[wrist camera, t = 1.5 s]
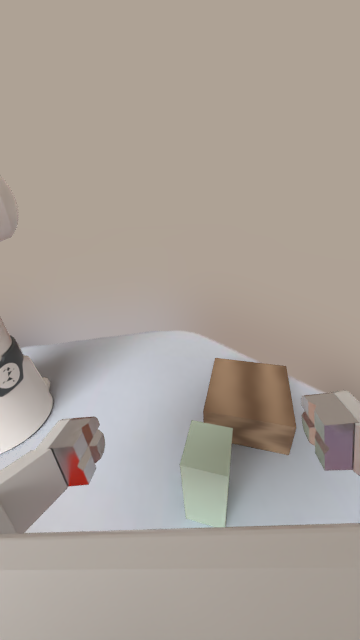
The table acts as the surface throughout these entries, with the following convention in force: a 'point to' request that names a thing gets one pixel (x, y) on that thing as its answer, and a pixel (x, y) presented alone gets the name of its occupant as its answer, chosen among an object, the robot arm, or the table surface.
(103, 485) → the table surface
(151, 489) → the table surface
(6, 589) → the robot arm
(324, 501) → the table surface
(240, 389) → the walnut block
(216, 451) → the sage block
